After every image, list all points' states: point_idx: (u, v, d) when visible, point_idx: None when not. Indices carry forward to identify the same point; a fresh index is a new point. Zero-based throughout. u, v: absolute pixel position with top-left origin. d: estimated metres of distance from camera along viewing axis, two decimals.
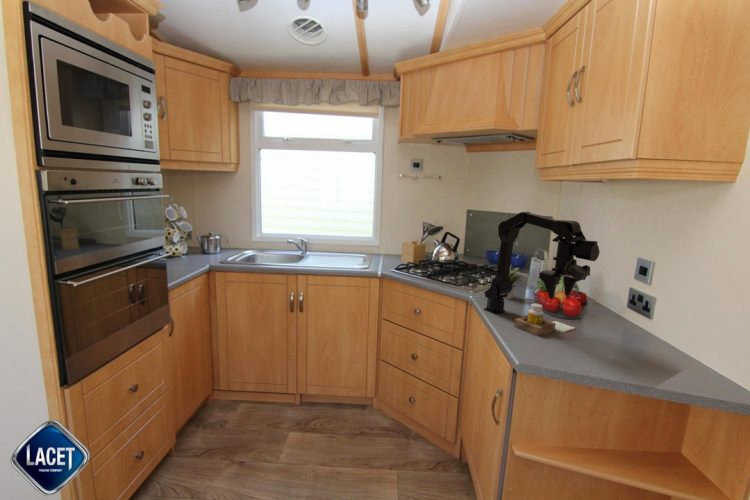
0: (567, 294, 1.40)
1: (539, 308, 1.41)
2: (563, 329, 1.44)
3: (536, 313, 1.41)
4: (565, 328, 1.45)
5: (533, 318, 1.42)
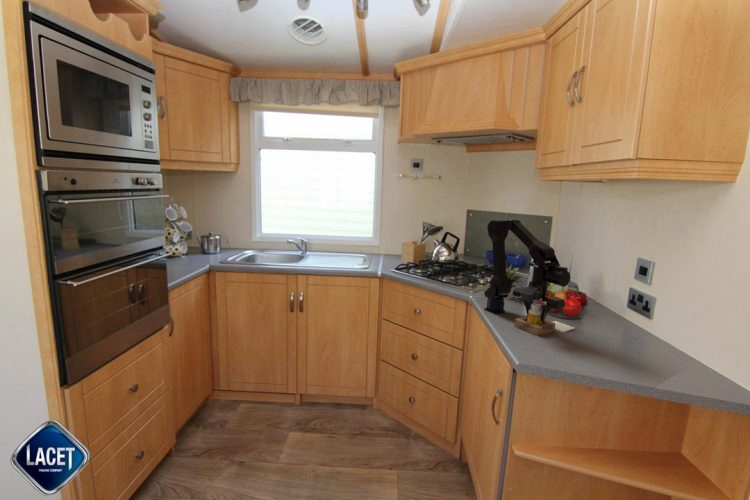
0: None
1: (539, 308, 1.41)
2: (563, 329, 1.44)
3: (536, 313, 1.41)
4: (565, 328, 1.45)
5: (533, 318, 1.42)
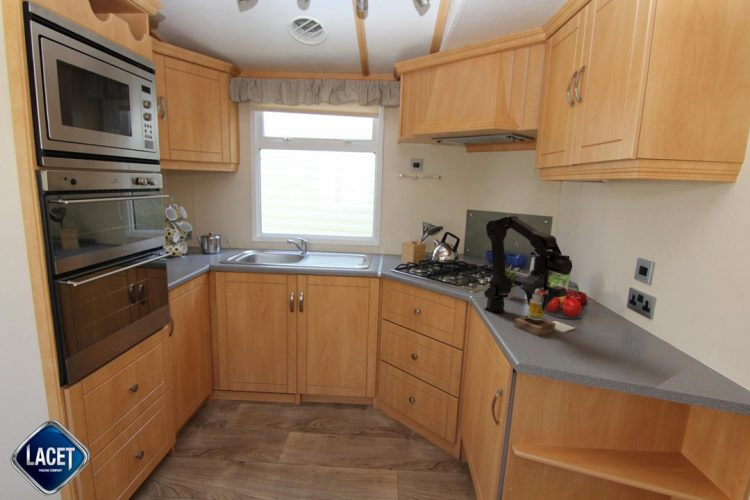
0: None
1: (541, 297, 1.40)
2: (563, 329, 1.44)
3: (538, 302, 1.40)
4: (565, 328, 1.45)
5: (534, 307, 1.41)
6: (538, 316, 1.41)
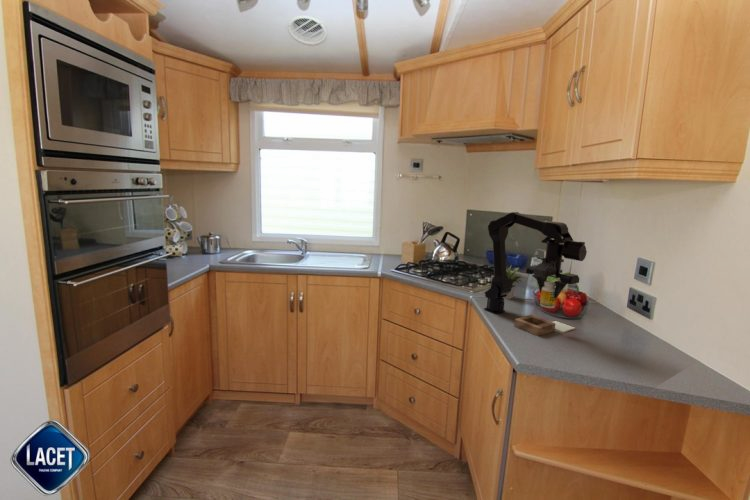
0: None
1: (552, 285, 1.40)
2: (563, 329, 1.44)
3: (550, 289, 1.40)
4: (565, 328, 1.45)
5: (546, 295, 1.41)
6: (550, 304, 1.41)
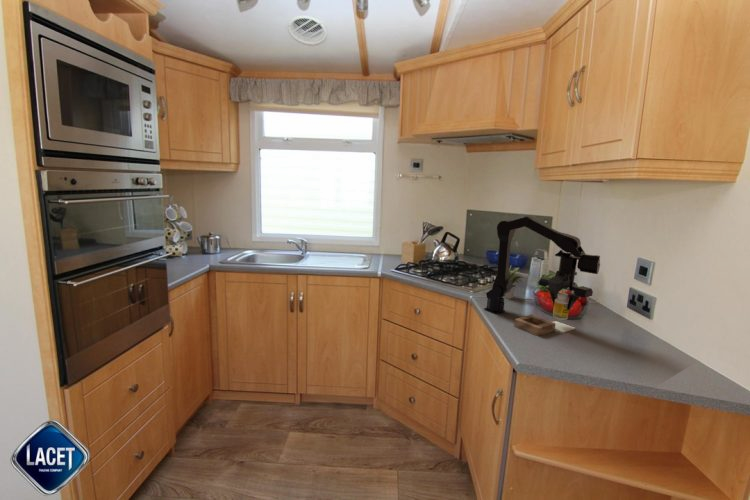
0: None
1: (566, 297, 1.43)
2: (563, 329, 1.44)
3: (563, 302, 1.43)
4: (565, 328, 1.45)
5: (559, 307, 1.44)
6: (563, 316, 1.44)
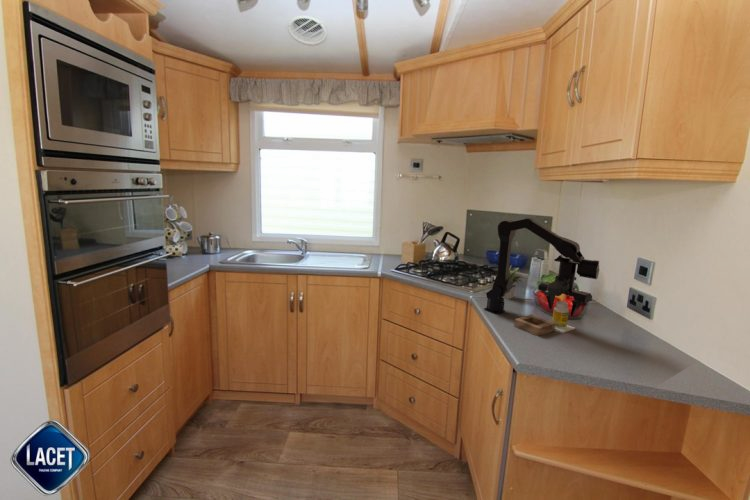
0: None
1: (565, 306, 1.44)
2: (563, 329, 1.44)
3: (562, 310, 1.44)
4: (565, 328, 1.45)
5: (558, 315, 1.44)
6: (562, 324, 1.44)
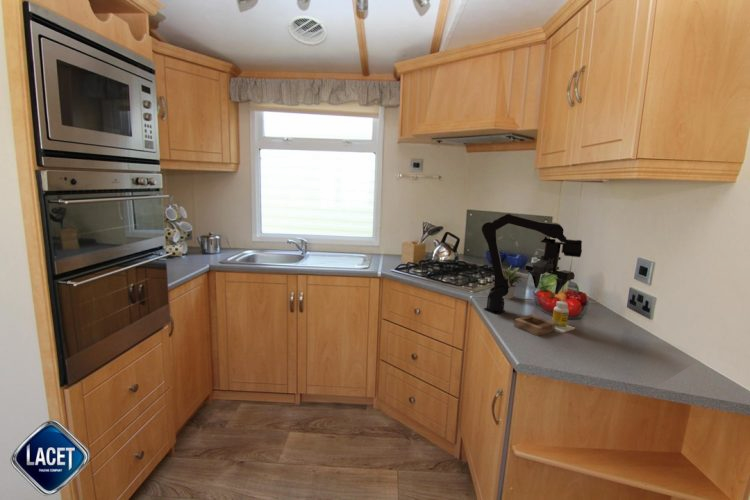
0: None
1: (565, 306, 1.44)
2: (563, 329, 1.44)
3: (562, 310, 1.44)
4: (565, 328, 1.45)
5: (558, 315, 1.44)
6: (562, 324, 1.44)
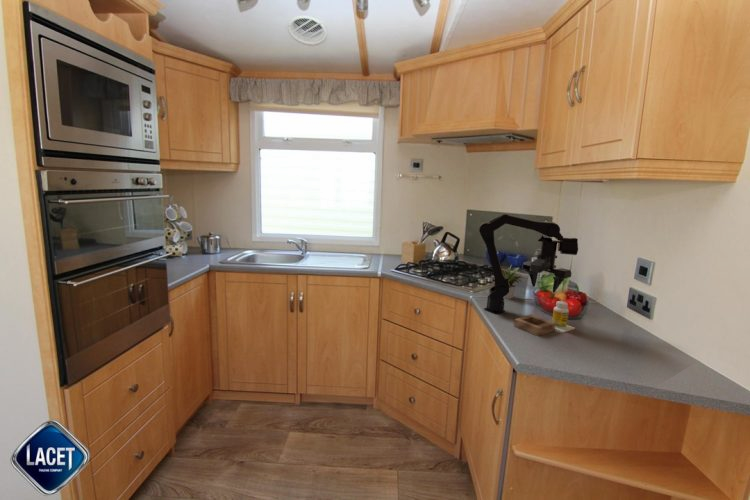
0: None
1: (565, 306, 1.44)
2: (563, 329, 1.44)
3: (562, 310, 1.44)
4: (565, 328, 1.45)
5: (558, 315, 1.44)
6: (562, 324, 1.44)
